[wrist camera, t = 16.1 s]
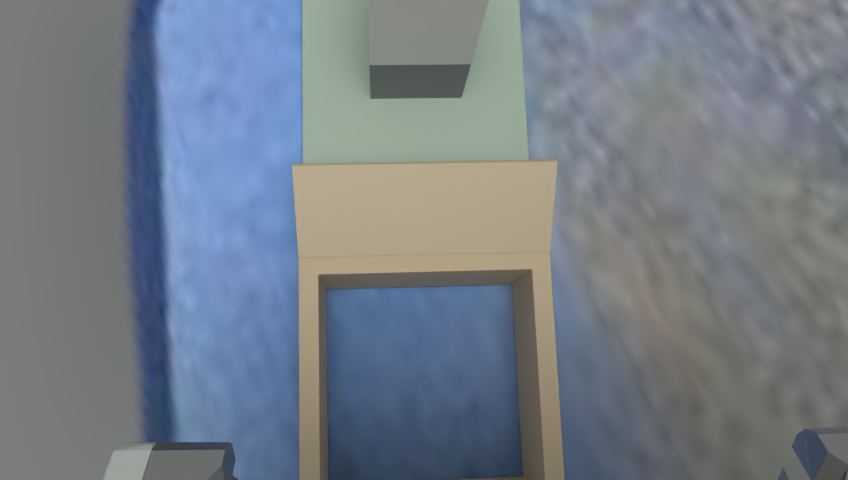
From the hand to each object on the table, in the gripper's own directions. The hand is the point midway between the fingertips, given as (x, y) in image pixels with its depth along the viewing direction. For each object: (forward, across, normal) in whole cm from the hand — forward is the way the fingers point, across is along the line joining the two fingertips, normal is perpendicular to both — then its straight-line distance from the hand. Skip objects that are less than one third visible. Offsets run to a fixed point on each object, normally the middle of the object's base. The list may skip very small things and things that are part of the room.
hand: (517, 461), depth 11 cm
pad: (+30, 0, +6) cm, 31 cm away
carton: (+19, 0, +17) cm, 25 cm away
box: (+29, 0, +5) cm, 30 cm away
